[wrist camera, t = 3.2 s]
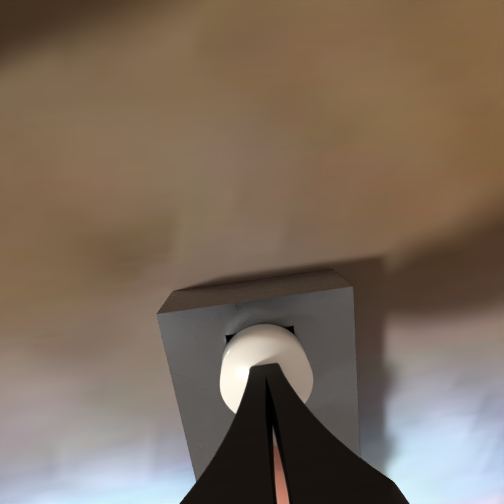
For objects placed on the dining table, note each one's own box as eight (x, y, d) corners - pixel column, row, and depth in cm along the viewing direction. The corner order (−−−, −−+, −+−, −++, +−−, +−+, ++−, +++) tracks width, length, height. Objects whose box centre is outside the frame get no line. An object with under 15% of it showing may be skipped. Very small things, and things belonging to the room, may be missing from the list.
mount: (346, 496, 20) (364, 548, 17) (221, 515, 20) (217, 571, 17) (332, 269, 16) (353, 286, 13) (172, 291, 16) (156, 314, 13)
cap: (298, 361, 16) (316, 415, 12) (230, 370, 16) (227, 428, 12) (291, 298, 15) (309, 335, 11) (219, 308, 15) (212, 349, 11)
